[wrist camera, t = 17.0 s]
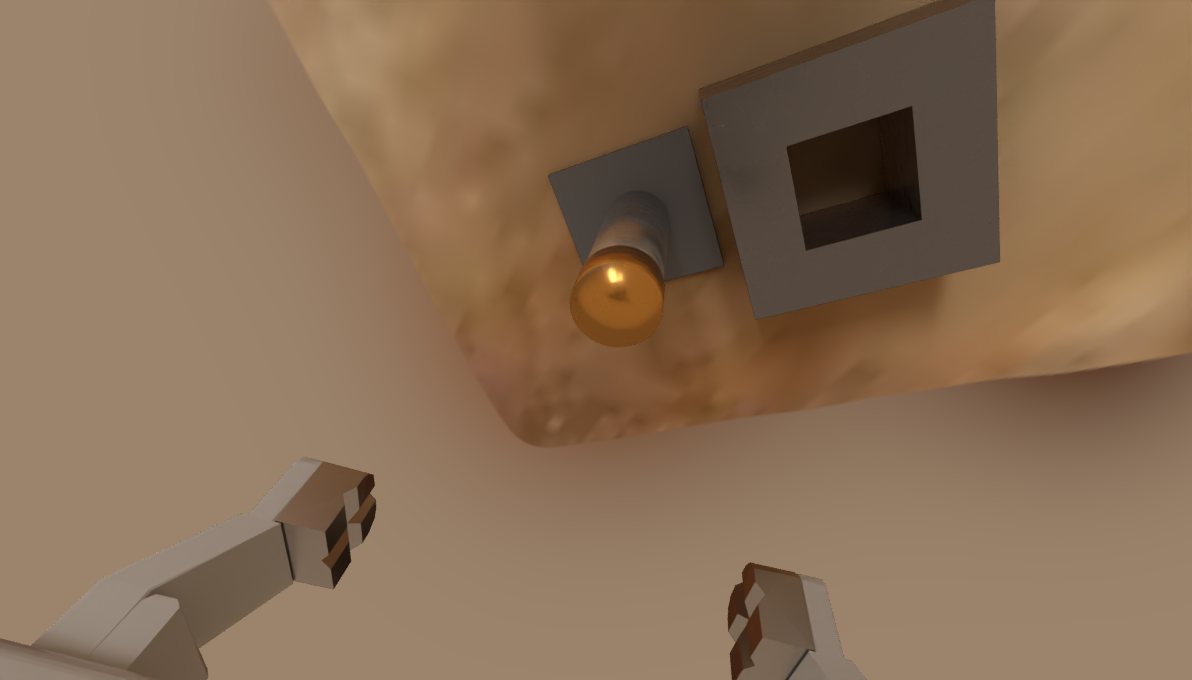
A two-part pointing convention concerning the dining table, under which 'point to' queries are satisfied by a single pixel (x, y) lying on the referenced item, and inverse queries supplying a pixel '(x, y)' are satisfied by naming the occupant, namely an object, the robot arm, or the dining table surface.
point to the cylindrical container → (624, 273)
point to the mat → (648, 168)
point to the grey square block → (909, 148)
